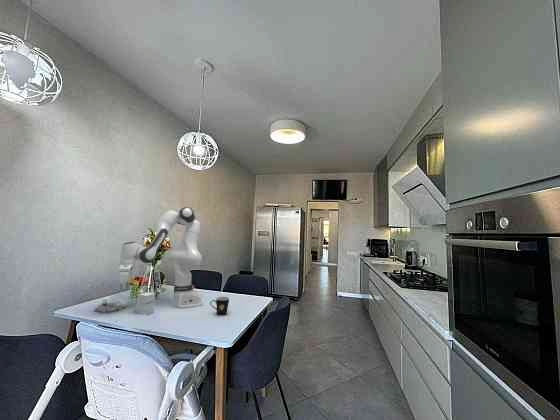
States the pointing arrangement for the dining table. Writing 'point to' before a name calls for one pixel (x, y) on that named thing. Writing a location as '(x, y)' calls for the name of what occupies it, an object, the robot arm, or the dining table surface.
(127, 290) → the link block
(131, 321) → the dining table surface
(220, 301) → the coffee mug
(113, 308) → the sprocket
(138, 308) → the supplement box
